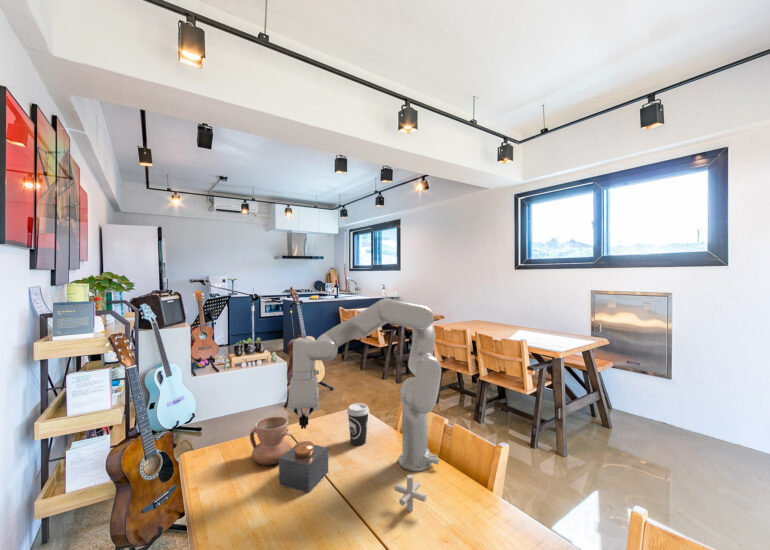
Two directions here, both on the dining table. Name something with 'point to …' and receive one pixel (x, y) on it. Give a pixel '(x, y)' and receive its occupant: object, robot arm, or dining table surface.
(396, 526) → the dining table surface
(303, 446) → the copper pin
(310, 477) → the hitch block
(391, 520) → the dining table surface
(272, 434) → the ceramic jug
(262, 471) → the dining table surface
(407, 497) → the light grey toy jack
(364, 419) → the coffee cup
